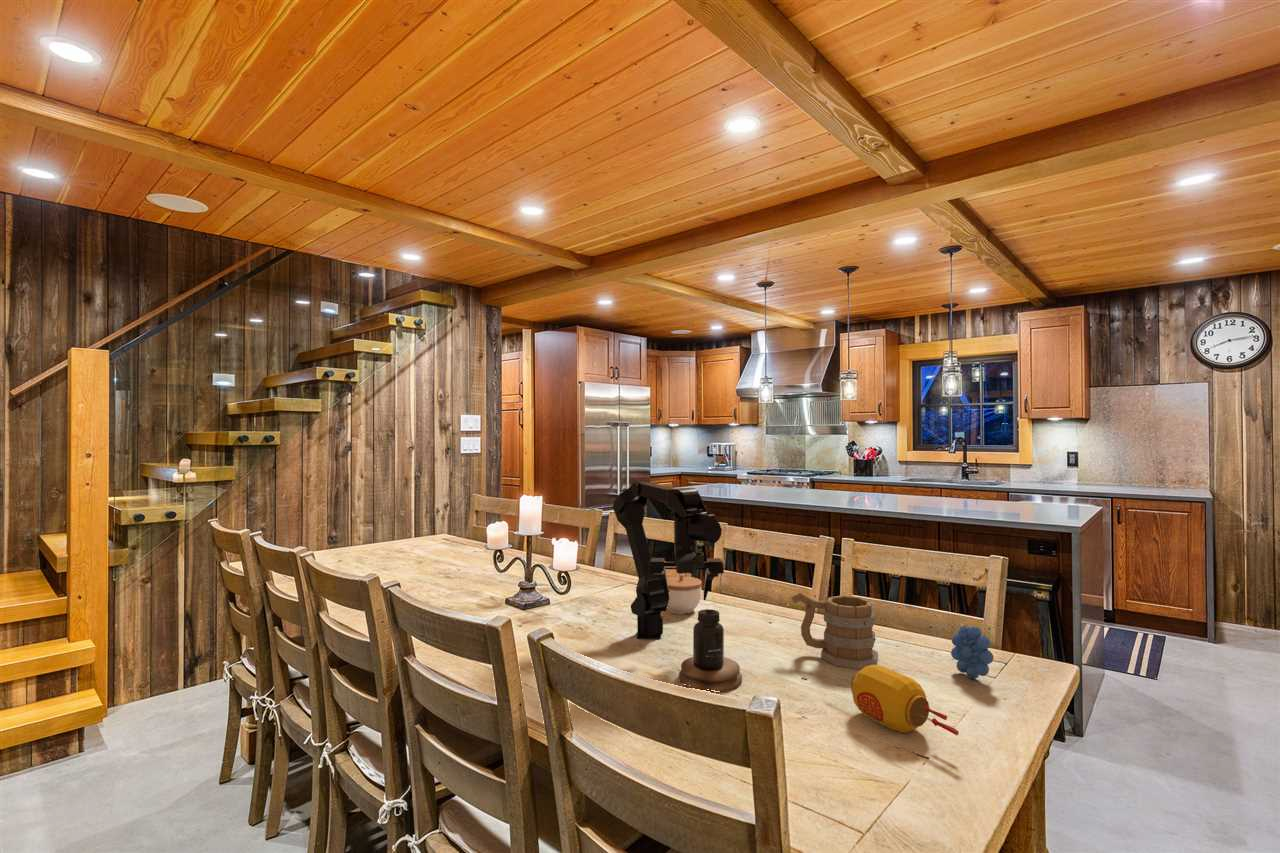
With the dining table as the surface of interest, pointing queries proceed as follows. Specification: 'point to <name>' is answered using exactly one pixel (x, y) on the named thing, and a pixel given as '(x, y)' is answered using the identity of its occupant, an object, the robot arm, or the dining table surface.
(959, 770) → the dining table surface
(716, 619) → the supplement bottle
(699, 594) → the lidded bowl
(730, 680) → the pedestal stand
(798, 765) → the dining table surface
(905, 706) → the lantern
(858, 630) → the tankard
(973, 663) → the grapes
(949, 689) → the dining table surface
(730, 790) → the dining table surface
